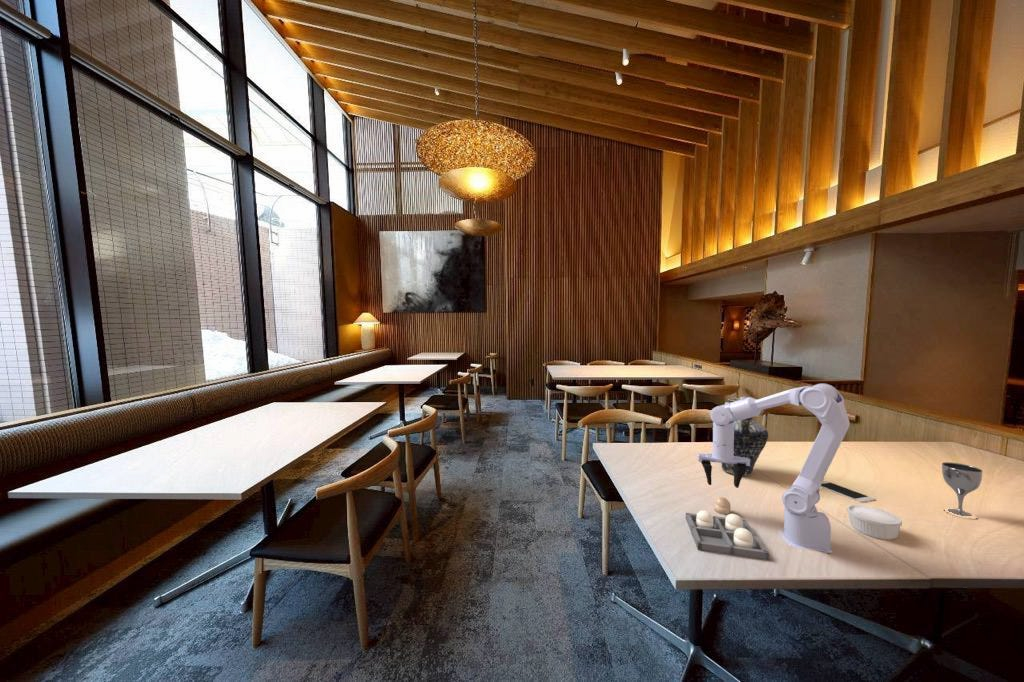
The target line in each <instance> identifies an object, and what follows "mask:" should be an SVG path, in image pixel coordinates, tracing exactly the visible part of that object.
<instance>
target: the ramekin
mask: <svg viewBox="0 0 1024 682" xmlns="http://www.w3.org/2000/svg"><path fill="white" fill-rule="evenodd" d="M846 511H847V513H848V519H849V523H850V525H851V526H852V528H853V529H854V530H855V531H857V532H858V533H860V534H863V535H865V536H868V537H871V538H875V539H878V540H879V539H880V540H886V541H891V540H895V539H897V538H898V536H899V534H900V533H899V532H900V529H901V526H902V525H903V520H902V519H901V517H898V516H897V514H896V515H895V513H892V512H889V511H886V510H884V509H881V508H878V507H874V506H869V505H863V504H851V505H848V506H847V507H846Z"/></svg>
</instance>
